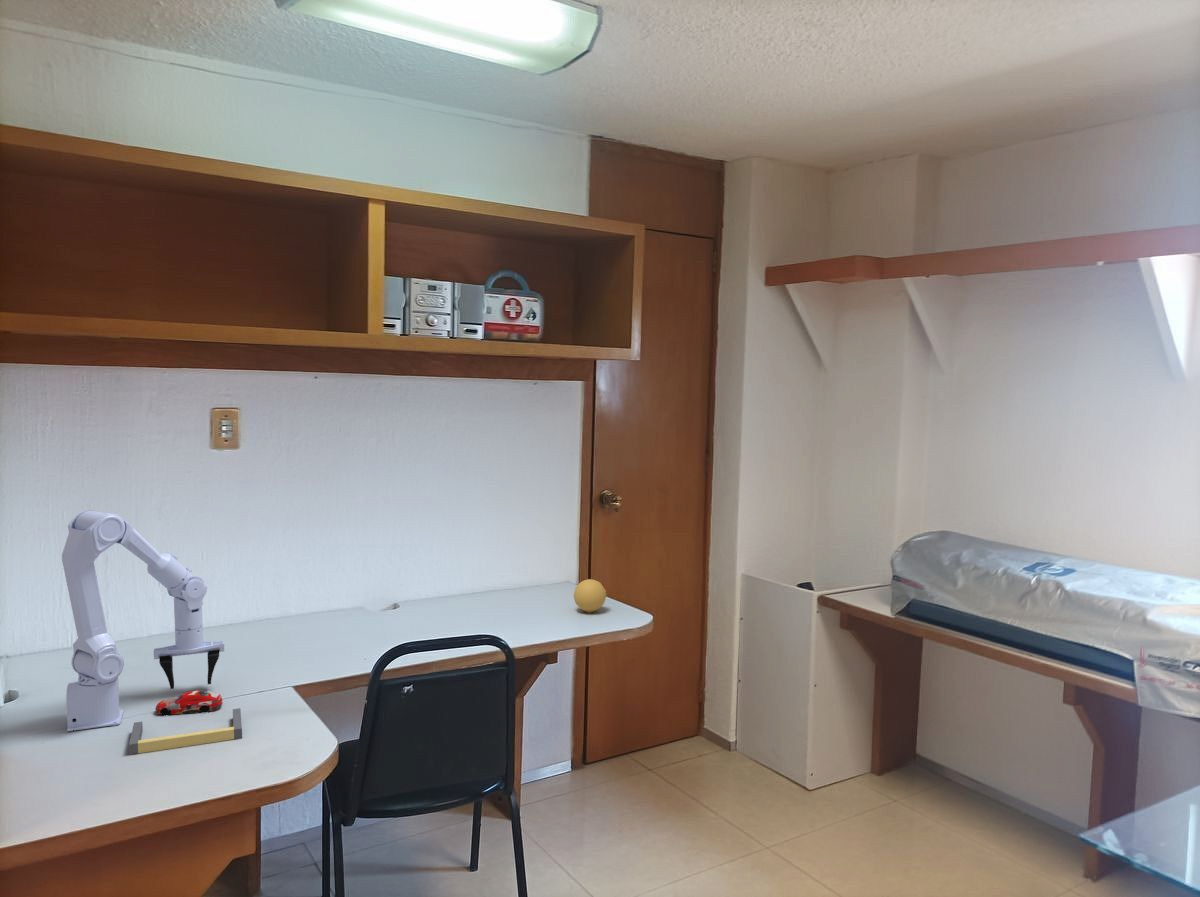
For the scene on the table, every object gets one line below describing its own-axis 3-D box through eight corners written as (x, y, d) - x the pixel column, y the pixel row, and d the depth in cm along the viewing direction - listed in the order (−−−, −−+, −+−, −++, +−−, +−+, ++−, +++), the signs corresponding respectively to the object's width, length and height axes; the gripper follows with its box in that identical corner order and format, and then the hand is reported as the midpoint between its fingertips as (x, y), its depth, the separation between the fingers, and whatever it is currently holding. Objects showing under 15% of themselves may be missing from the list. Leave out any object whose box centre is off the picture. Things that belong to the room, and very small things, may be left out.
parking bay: (129, 754, 168) (128, 744, 168) (134, 732, 178) (134, 722, 178) (242, 738, 176) (241, 728, 176) (240, 717, 186) (240, 708, 186)
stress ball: (596, 619, 265) (617, 595, 268) (574, 597, 263) (596, 573, 266) (583, 616, 274) (604, 593, 278) (562, 594, 272) (584, 571, 275)
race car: (152, 718, 186) (151, 700, 186) (159, 708, 192) (159, 691, 191) (219, 713, 189) (218, 695, 189) (224, 704, 194) (223, 686, 194)
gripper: (223, 619, 206) (225, 675, 207) (154, 625, 200) (156, 683, 201) (223, 627, 199) (225, 685, 201) (152, 634, 194) (154, 694, 195)
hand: (190, 685), depth 201 cm, fingers open, 7 cm apart
